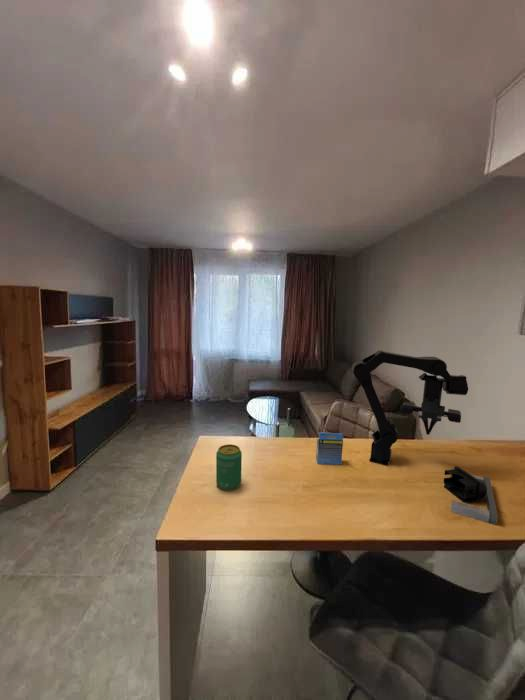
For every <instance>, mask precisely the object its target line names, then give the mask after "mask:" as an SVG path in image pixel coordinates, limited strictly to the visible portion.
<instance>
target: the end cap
mask: <svg viewBox="0 0 525 700" xmlns="http://www.w3.org/2000/svg"><path fill="white" fill-rule="evenodd" d="M444 475H445V476H450V477H444V478H443V484H444V485H443V488H444V489H446V491H448V492H449V493H451V494H452V495H453V496H454V497H456V498H457V499H458V501H461V503H464V504H473V503H477V502H479V501H481V500H482V499H484V498H485V495H486V493H487V487H486V485H485V484H484V483H483V482H481V481H480V480H478V479H477V478H475V477H474V476H472V475H473V474H471V473H469V472H468V471H466V470H464V469H463V468H462V467H461V466H457V465H455V466H454V469H445V470H444ZM451 475H452V477H451Z"/></svg>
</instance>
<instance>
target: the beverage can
mask: <svg viewBox="0 0 525 700" xmlns="http://www.w3.org/2000/svg"><path fill="white" fill-rule="evenodd" d="M242 453H243V452H242V450H241V449H240V447H239V445H236V444H224V445H221V446H219V447H218V449H217V451H216V454H215V455H216V456H215V457H216V458H215V463H216V469H215V470H216V471H215V472H216V475H215V477H216V478H215V479H216V480H215V481H216V482H215V483H216V485H217V487H218V488H219V489H220V490H222V491H223V490H224V491H234V490H236V489H238V488H239V487H240V485H241V483H242Z"/></svg>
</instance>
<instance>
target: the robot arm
mask: <svg viewBox="0 0 525 700" xmlns="http://www.w3.org/2000/svg"><path fill="white" fill-rule="evenodd" d="M382 364H388V365H389V364H390V365H393V366H394V365H395V366H399V367H405V368H406V367H407V368H413V369H417V370H419V371H422V372H423V373H422V374H420V375H419V376H418V379H420V381H424V384H423V393H422V402H421V405H420V406H416V404H415V403H414V402H409V401H405V402H403V403H402V405H401V411H400V412H401V413H402V414H409V415H411V414H413V412H416V413H418V415H417V416H418V417H417V418H419V419H421V420H422V422H423V425H424V428H425V429H424V430H425V432H426V435H430V433H431V432H432V431H433V428H434V426H435V425H436V424H437V423H438V422H442V418H443V417H445V418H447V420H448V421H449V422H453V423H458V424H459V423H461V421H462V412H461V411H460V410H458V409H453V408H451V409H450V408H448V409H447V410H448V411H446V410H445V409H446V406H444V405H441V401H442V393H443V391H444V392H445V393H446V394H447V395H457V396H467V394H468V392H469V386H468V380H467V379H468V378H467V376H466V375H463V374H462V375H461V374H460V375H456V374H455V375H453V374H452V375H451V374H450V372H449V371H448V369H447V368H448V366H447V365H448V364H447V363H446V362H445V361H444V360H443V359H441V358H439V357H436V356H411V355H407V354H401V353H396V352H389V351H384V350H377V351H376V352H375V353H373V354H370V355H368V356H367V357H364V358H363V359H362V360H361V359H358V360H356V361H354V362H353V364H352V365H351V369H352V372H353V375H354V377H355V379H356V380H357V382H358V383H359V384H360V386H361V387H362V389H363V392H364V394H365V396H366V398H367V401H368V404H369V406H370V408H371V411H372V413H373V416H374V417H375V422H376V428H377V430H376V431H375V432H373V433H372V434H371V437H372V440H373V441H372V443H371V450H370V458H369V460H368V461H369V462H373V463H375V464H380V465H384V466H388V465H389V463H390V462H391V460H392V452H393V451H392V449H391V448H392V446H393V445H394V444H395V443H397V442H398V441H397V440H398V435H399V432H398V430H397V429H396V428H397V427H395V426H396V425H395V423H394V421H393V419H392V418H391V417H390V418H389V419H388V417H387V416H386V414H385V412H384V409H383V407H382V405H381V402H380V400H379V398H378V394H377V392H376V390H375V387H374V385H373V379H372V375H371V372H373V371H375V370H376V369H377V368H378V367H380V366H381V365H382ZM439 376H440V377H441V378H440V377H439ZM429 419H431V420H430V421H429ZM429 422H430V423H429Z"/></svg>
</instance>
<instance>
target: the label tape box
mask: <svg viewBox="0 0 525 700" xmlns="http://www.w3.org/2000/svg"><path fill="white" fill-rule="evenodd" d="M318 434H319V435H318V438H317V439H316V450H315V451H316V452H315V453H316V454H315V459H316V463H317V465H342V458H343V449H344V448H343V447H344V433H337V432H336V433H335V432H334V433H333V432H321V431H320V432H318Z"/></svg>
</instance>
